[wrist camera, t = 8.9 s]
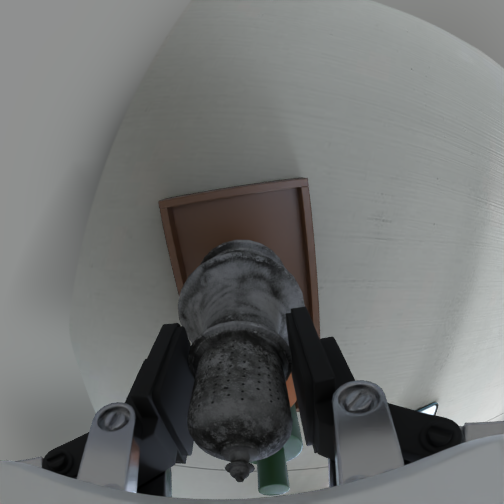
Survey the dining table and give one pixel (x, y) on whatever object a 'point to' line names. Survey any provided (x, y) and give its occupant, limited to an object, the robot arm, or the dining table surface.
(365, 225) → the dining table surface
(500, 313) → the dining table surface
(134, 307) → the dining table surface
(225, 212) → the tray
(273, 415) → the salt shaker
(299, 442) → the dark green bottle
